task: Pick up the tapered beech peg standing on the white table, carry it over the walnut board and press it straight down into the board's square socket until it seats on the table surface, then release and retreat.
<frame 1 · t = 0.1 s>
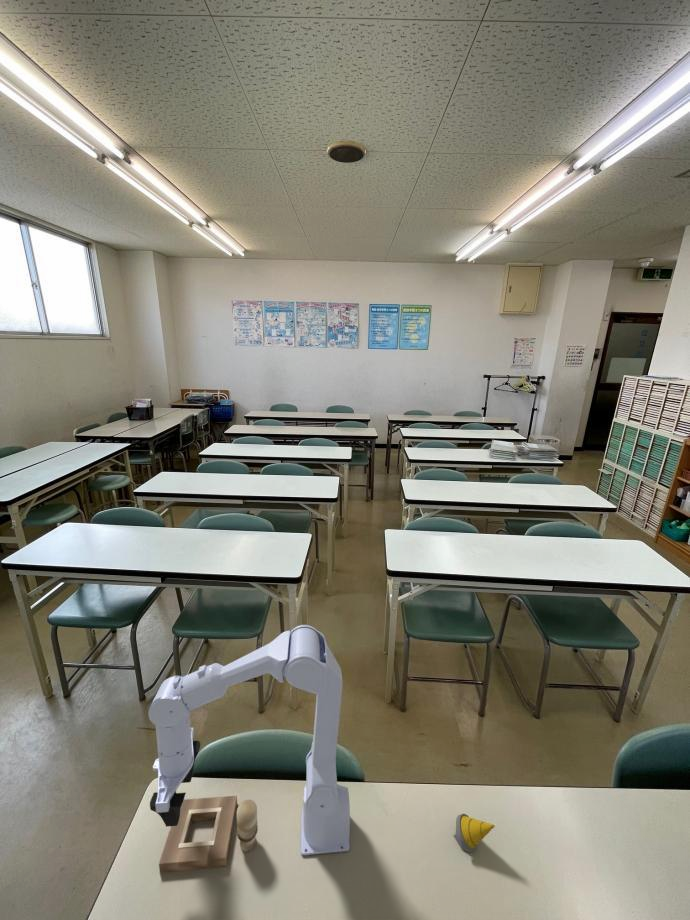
hand: (179, 801, 72), 10 cm above the table, fingers open, 7 cm apart
board: (201, 835, 76), on the table
peg: (247, 842, 75), on the table
yellow striped cone: (470, 842, 76), on the table
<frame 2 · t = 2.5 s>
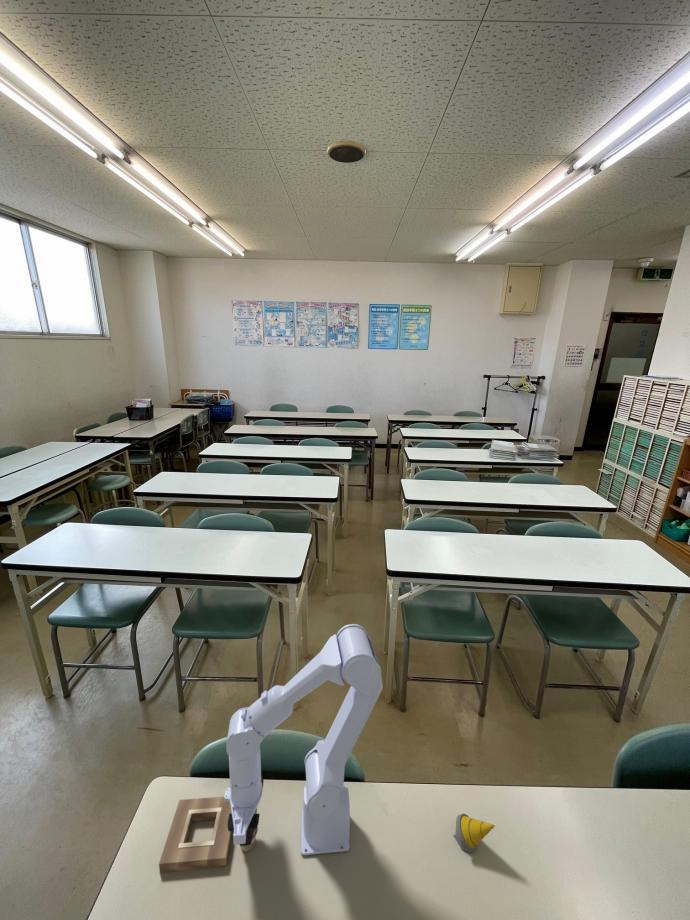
hand: (247, 829, 74), 3 cm above the table, fingers closed on peg, 4 cm apart
peg: (247, 842, 75), on the table, touching gripper
everything else where it was.
when the fingers open (3 cm above the table, at t = 6.3 s): peg stays where it is, resting in board.
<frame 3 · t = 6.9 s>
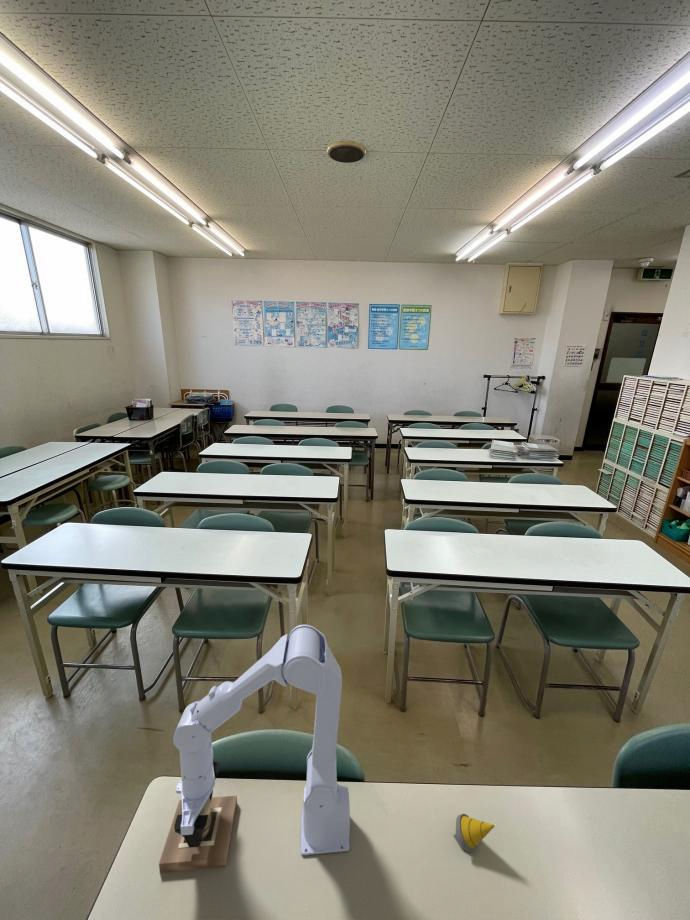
hand: (200, 821, 75), 3 cm above the table, fingers open, 7 cm apart
peg: (201, 835, 76), resting in board
everything else where it was.
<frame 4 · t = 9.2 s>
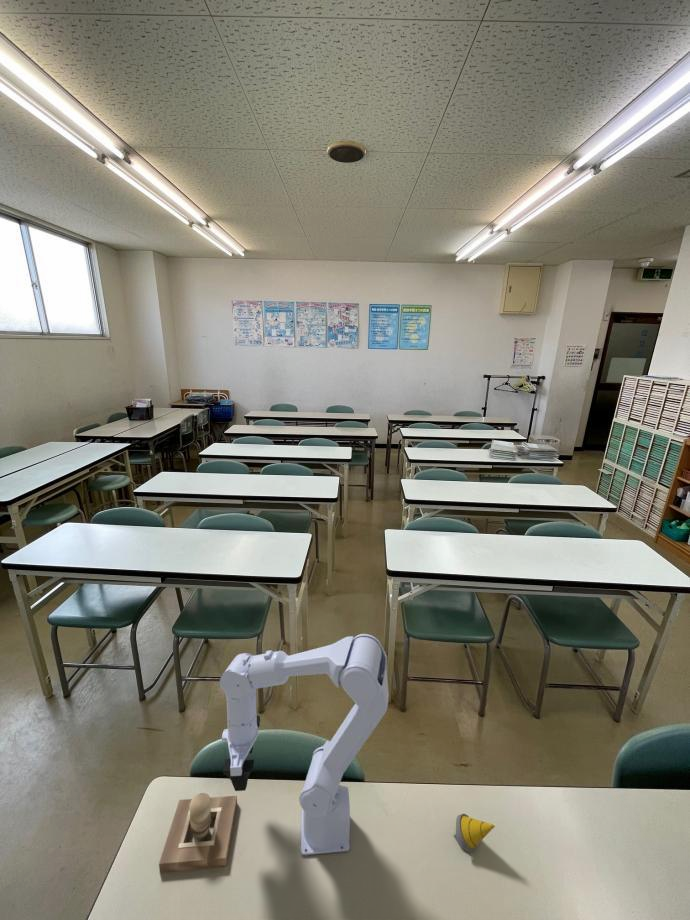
hand: (243, 769, 78), 10 cm above the table, fingers open, 7 cm apart
nothing on the table moved.
at the end: peg 0.1 cm off-centre in the board, point 0.0 cm above the board's base; peg tilted 0°; the gripper is holding nothing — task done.
